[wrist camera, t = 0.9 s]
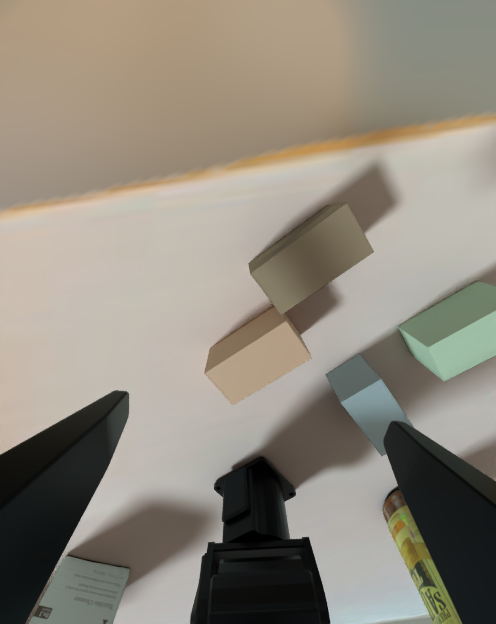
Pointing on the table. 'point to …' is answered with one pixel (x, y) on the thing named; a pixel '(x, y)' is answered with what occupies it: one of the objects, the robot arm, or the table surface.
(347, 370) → the slate brick
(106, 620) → the skincare box
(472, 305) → the sage brick
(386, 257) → the table surface
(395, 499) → the sauce bottle
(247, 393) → the tan brick
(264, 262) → the walnut brick
